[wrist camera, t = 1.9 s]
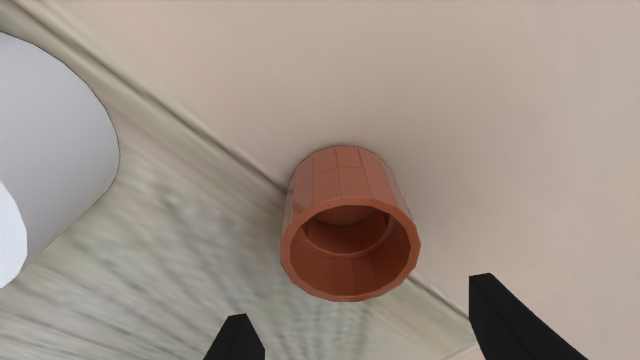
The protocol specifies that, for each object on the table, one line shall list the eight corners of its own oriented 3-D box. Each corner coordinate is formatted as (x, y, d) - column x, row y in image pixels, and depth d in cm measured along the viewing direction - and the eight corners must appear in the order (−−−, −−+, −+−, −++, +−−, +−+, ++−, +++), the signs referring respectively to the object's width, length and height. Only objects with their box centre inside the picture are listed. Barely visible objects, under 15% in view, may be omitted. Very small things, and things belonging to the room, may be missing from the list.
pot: (413, 191, 17) (446, 256, 13) (336, 246, 19) (342, 319, 15) (346, 119, 15) (359, 167, 11) (266, 188, 17) (251, 253, 13)
